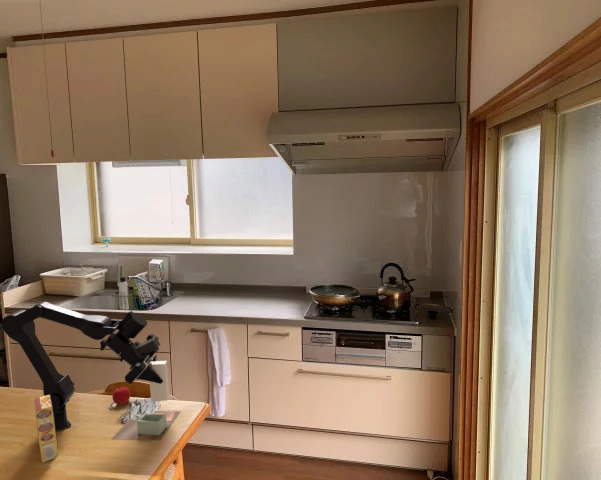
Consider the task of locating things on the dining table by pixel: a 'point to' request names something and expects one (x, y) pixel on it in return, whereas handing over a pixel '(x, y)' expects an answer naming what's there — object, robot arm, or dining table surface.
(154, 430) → the slot box
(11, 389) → the dining table surface
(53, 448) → the candy box
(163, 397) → the tall beige block
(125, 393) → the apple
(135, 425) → the walnut board
